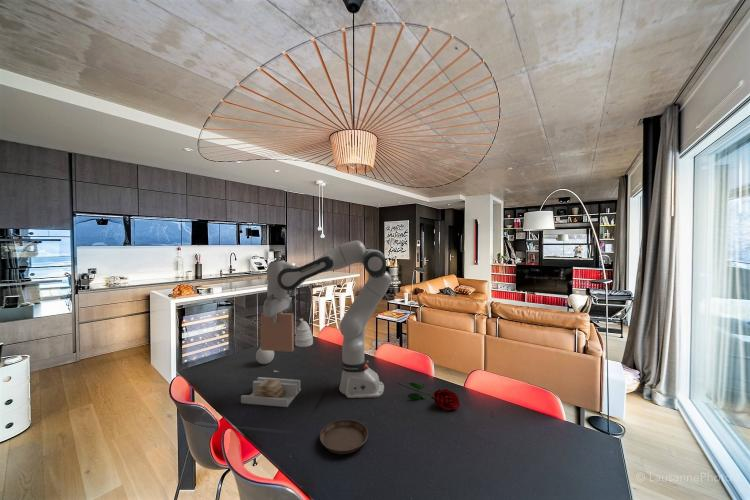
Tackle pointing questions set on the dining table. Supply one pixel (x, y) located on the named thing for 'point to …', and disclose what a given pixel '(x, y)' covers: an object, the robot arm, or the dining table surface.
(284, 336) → the brown square panel
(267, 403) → the rack
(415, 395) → the flower
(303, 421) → the dining table surface
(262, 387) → the offcut top
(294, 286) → the robot arm
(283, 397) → the offcut bottom
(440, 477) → the dining table surface
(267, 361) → the ornament
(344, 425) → the plant saucer
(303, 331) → the honey pot
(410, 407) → the dining table surface
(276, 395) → the offcut middle
